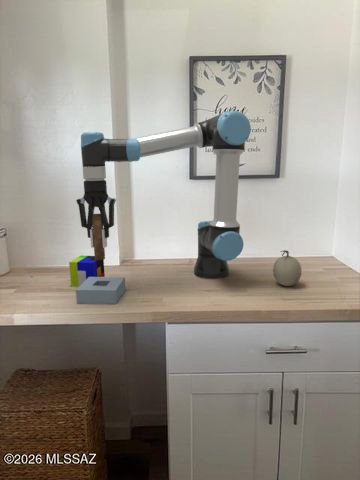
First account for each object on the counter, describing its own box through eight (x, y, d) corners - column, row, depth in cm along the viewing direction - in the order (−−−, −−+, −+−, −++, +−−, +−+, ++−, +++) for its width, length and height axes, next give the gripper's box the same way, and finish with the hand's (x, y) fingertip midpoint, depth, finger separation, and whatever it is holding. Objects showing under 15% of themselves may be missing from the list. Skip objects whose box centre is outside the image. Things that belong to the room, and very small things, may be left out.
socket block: (125, 289, 135) (125, 277, 133) (116, 304, 121) (115, 290, 120) (90, 289, 136) (89, 276, 135) (76, 303, 122) (75, 289, 121)
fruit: (294, 279, 143) (296, 243, 140) (304, 289, 132) (307, 250, 128) (268, 280, 143) (270, 244, 139) (277, 290, 132) (279, 251, 128)
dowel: (106, 257, 127) (103, 213, 123) (103, 260, 123) (100, 215, 120) (96, 257, 127) (93, 213, 124) (93, 260, 124) (90, 215, 120)
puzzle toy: (94, 287, 138) (92, 263, 135) (71, 286, 140) (69, 262, 137) (104, 279, 147) (103, 256, 145) (82, 278, 149) (81, 255, 147)
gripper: (121, 179, 122) (124, 244, 127) (75, 179, 123) (80, 244, 129) (116, 180, 115) (119, 249, 120) (66, 180, 116) (72, 249, 121)
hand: (99, 246), depth 124 cm, fingers closed on dowel, 3 cm apart
